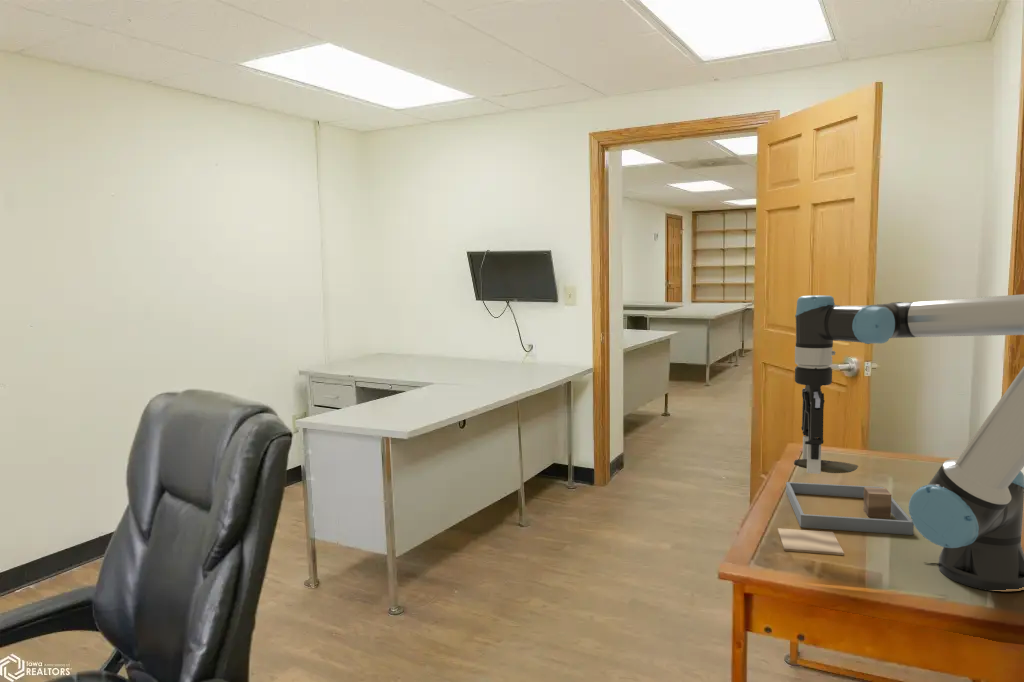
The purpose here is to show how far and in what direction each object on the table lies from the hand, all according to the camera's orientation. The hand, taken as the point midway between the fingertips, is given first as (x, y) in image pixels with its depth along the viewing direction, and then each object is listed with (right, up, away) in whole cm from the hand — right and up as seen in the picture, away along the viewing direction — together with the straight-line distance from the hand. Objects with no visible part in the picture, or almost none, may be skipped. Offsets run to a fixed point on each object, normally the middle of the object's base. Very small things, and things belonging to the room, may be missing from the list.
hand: (811, 468), depth 152 cm
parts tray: (+17, -15, +20) cm, 30 cm away
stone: (+2, 0, +3) cm, 4 cm away
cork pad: (0, -17, +1) cm, 17 cm away
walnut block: (+24, -15, +18) cm, 33 cm away
